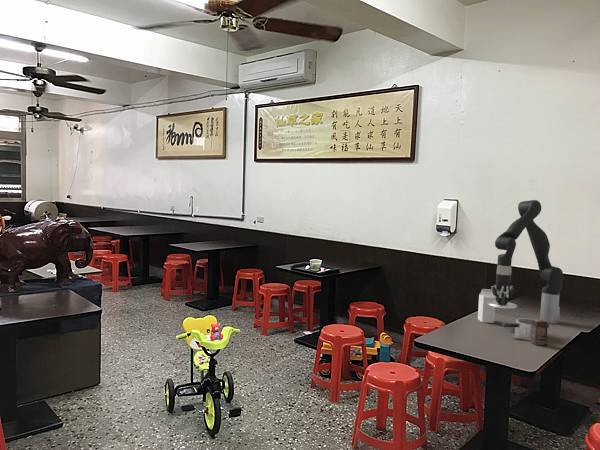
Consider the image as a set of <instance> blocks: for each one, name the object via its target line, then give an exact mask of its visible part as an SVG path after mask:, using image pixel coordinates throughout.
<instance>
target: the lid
mask: <svg viewBox="0 0 600 450" xmlns="http://www.w3.org/2000/svg"><path fill="white" fill-rule="evenodd" d="M488 305H489V306H491V307H495V309H496V308H497V309H501V310H502V309H503V310H513V309H514V310H516V309H517V308H518V305H517V304H516V303H513V302H510V301H508V303H507V304H505V298H504V296H503V297H502V296H501V304H498V303H497V300H496V301H489V302H488Z"/></svg>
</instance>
